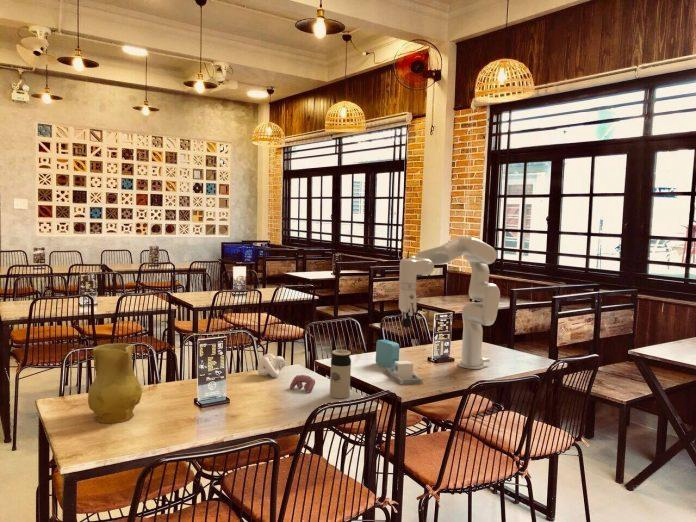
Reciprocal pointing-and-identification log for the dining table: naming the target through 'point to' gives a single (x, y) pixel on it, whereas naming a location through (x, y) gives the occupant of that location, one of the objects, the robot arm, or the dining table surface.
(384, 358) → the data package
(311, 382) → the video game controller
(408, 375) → the module
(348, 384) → the travel mug
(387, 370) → the grey rectangular frame
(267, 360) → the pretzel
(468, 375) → the dining table surface
